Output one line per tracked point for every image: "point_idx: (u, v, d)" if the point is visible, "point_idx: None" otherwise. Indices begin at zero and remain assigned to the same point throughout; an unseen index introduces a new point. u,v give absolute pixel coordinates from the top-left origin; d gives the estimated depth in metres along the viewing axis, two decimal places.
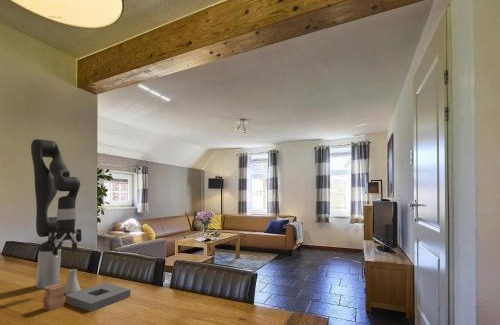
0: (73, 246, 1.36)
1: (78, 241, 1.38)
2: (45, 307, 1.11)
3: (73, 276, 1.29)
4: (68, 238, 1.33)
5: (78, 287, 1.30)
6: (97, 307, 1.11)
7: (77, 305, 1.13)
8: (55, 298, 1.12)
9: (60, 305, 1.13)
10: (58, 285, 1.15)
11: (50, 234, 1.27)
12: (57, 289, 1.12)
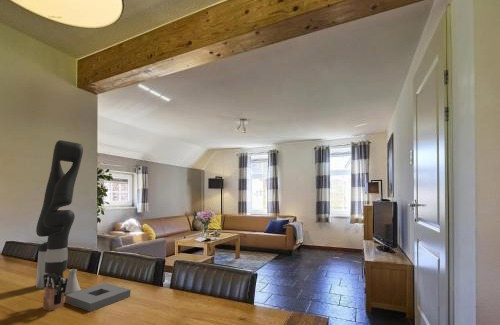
0: None
1: None
2: (45, 307, 1.11)
3: (73, 276, 1.29)
4: None
5: (78, 287, 1.30)
6: (97, 307, 1.11)
7: (77, 305, 1.13)
8: None
9: (60, 305, 1.13)
10: (58, 285, 1.15)
11: (64, 281, 1.11)
12: (57, 289, 1.12)
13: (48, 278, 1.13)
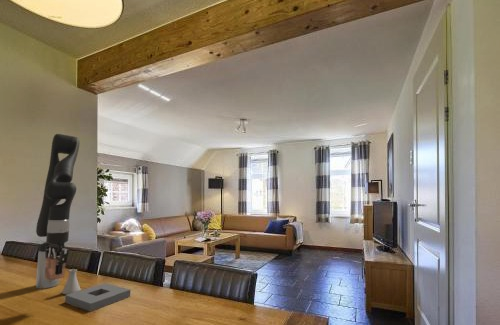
0: None
1: None
2: (46, 277, 1.12)
3: (73, 276, 1.29)
4: None
5: (78, 287, 1.30)
6: (97, 307, 1.11)
7: (77, 305, 1.13)
8: None
9: (61, 276, 1.14)
10: (59, 256, 1.16)
11: (66, 251, 1.12)
12: None
13: (50, 249, 1.14)
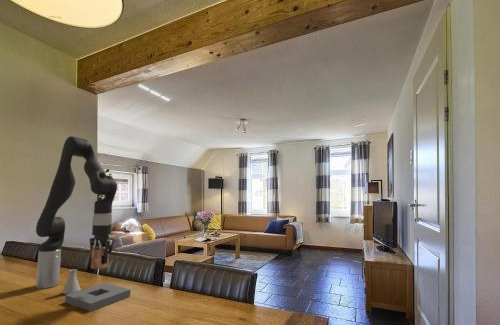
0: None
1: None
2: (93, 266, 1.21)
3: (73, 276, 1.29)
4: None
5: (78, 287, 1.30)
6: (97, 307, 1.11)
7: (77, 305, 1.13)
8: None
9: (106, 265, 1.22)
10: (103, 247, 1.25)
11: (111, 242, 1.20)
12: (104, 250, 1.22)
13: (95, 240, 1.22)
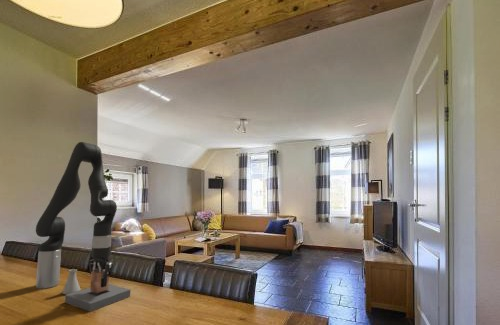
0: None
1: None
2: (92, 290, 1.20)
3: (73, 276, 1.29)
4: None
5: (78, 287, 1.30)
6: (97, 307, 1.11)
7: (77, 305, 1.13)
8: None
9: (106, 288, 1.22)
10: None
11: (110, 265, 1.20)
12: None
13: (94, 263, 1.22)
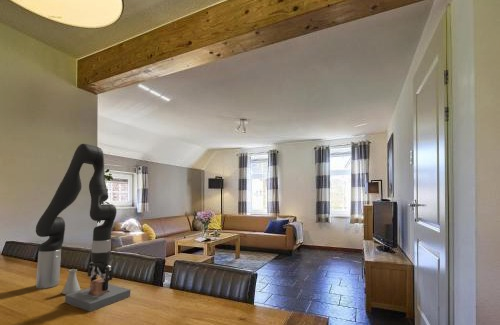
0: None
1: None
2: None
3: (73, 276, 1.29)
4: None
5: (78, 287, 1.30)
6: (97, 307, 1.11)
7: (77, 305, 1.13)
8: (100, 291, 1.20)
9: None
10: None
11: (110, 268, 1.19)
12: None
13: (94, 267, 1.21)
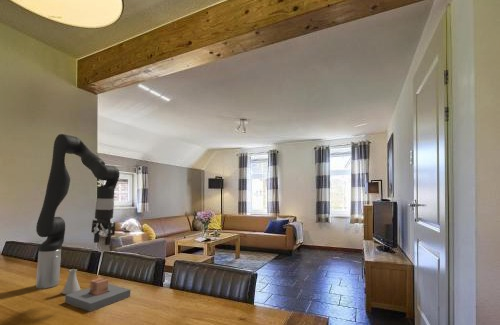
0: (97, 237, 1.31)
1: None
2: None
3: (73, 276, 1.29)
4: None
5: (78, 287, 1.30)
6: (97, 307, 1.11)
7: (77, 305, 1.13)
8: (101, 291, 1.20)
9: None
10: (102, 279, 1.24)
11: (112, 223, 1.27)
12: (102, 282, 1.21)
13: (97, 224, 1.29)
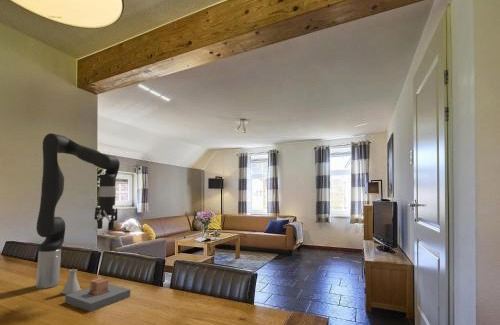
0: (100, 223, 1.38)
1: None
2: None
3: (73, 276, 1.29)
4: None
5: (78, 287, 1.30)
6: (97, 307, 1.11)
7: (77, 305, 1.13)
8: (101, 291, 1.20)
9: None
10: (102, 279, 1.24)
11: (115, 209, 1.34)
12: (102, 282, 1.21)
13: (100, 211, 1.35)
